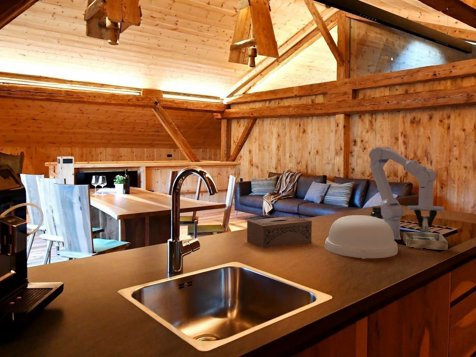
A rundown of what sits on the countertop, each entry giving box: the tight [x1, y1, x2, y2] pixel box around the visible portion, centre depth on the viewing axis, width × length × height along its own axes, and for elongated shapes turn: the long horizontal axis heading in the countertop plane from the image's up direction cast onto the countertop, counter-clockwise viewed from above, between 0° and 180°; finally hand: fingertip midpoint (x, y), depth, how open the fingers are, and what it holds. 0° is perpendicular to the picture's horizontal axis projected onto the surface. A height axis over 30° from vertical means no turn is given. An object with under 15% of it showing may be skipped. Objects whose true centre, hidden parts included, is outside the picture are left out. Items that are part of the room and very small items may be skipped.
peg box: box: [402, 231, 449, 251], centre depth 182 cm, size 16×16×4 cm
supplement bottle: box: [369, 205, 383, 219], centre depth 214 cm, size 7×7×12 cm
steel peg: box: [419, 215, 430, 233], centre depth 182 cm, size 4×4×7 cm
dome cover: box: [324, 214, 399, 260], centre depth 174 cm, size 32×30×14 cm
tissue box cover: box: [246, 215, 313, 249], centre depth 187 cm, size 26×14×10 cm, turn 117°
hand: (424, 227), depth 181 cm, fingers closed on steel peg, 4 cm apart
